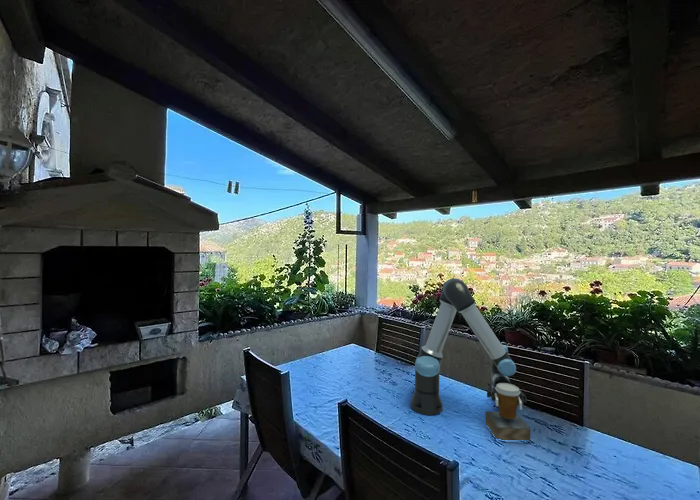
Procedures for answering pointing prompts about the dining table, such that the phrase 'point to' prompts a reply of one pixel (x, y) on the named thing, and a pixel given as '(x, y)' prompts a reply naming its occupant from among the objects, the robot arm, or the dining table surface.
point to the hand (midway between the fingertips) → (509, 404)
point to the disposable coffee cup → (507, 399)
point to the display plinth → (507, 427)
